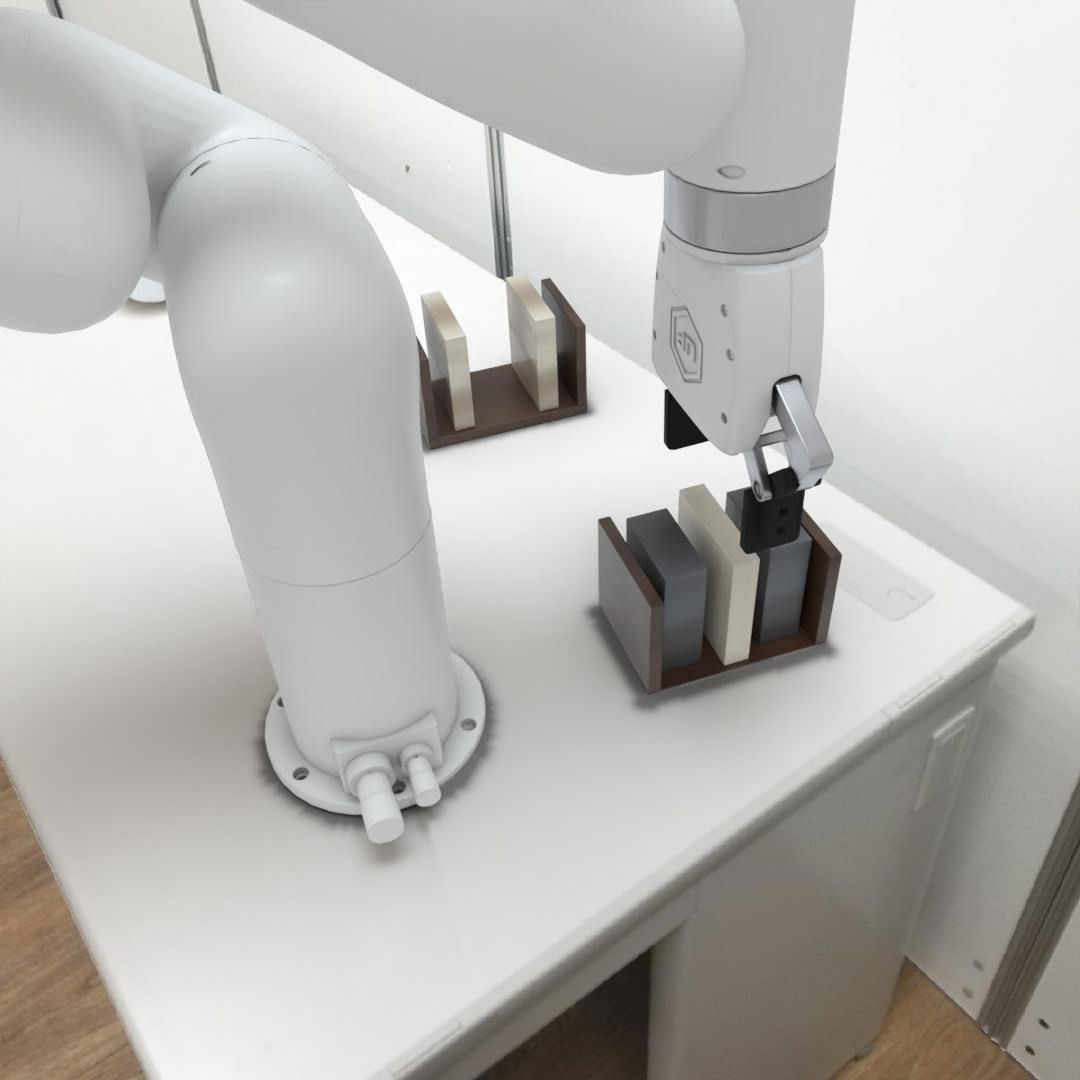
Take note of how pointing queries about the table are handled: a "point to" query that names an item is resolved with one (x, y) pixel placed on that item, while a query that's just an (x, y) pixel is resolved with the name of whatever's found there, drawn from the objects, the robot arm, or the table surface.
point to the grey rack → (680, 591)
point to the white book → (721, 573)
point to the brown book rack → (502, 368)
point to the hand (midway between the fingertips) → (727, 490)
